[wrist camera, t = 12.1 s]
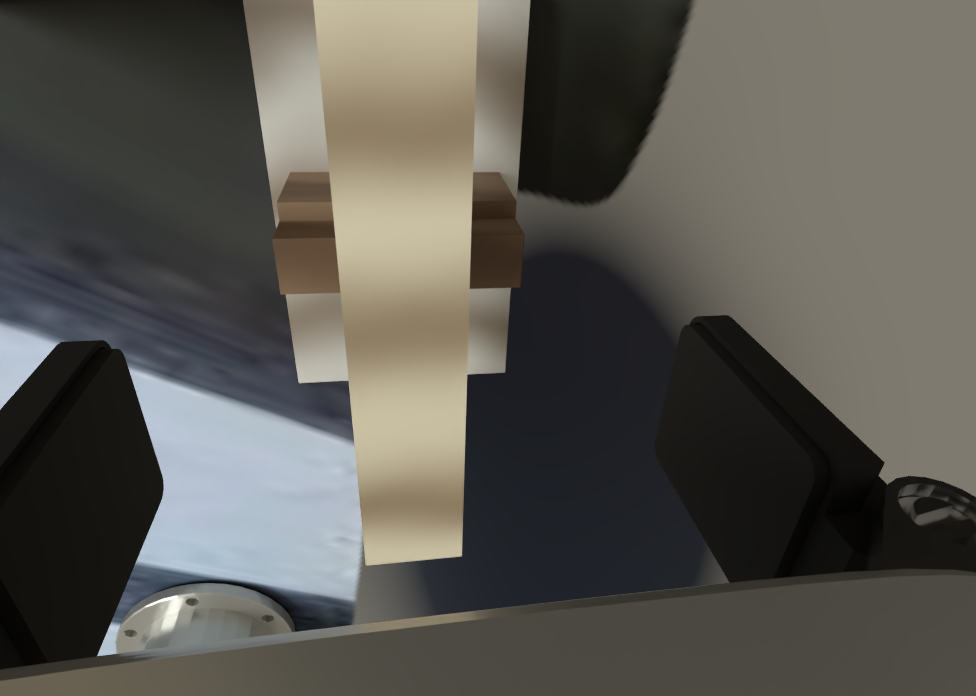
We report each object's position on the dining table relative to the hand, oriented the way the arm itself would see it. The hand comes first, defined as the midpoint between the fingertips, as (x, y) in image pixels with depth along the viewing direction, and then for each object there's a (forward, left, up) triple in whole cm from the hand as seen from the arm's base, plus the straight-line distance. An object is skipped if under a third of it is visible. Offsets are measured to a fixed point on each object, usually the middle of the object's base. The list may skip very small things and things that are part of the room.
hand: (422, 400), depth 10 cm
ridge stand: (-4, 0, -23) cm, 23 cm away
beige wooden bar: (-4, 0, -15) cm, 15 cm away
